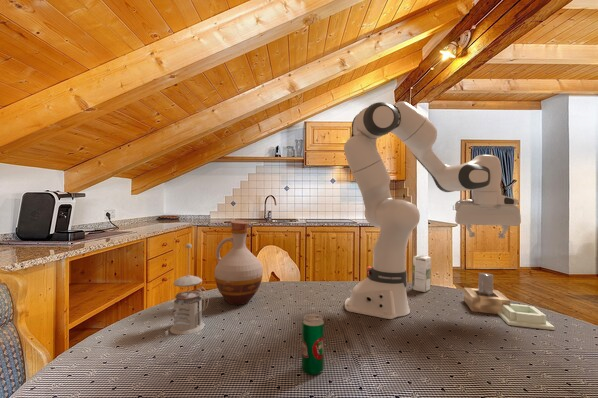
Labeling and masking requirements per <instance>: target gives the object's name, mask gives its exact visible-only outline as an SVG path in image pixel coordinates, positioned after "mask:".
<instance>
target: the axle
mask: <svg viewBox="0 0 598 398" xmlns="http://www.w3.org/2000/svg"><path fill="white" fill-rule="evenodd" d="M477 289H478V296H489V297H493V290H494V274H492V273H487V272H486V273H485V272H478V288H477Z"/></svg>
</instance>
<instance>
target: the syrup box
mask: <svg viewBox="0 0 598 398" xmlns="http://www.w3.org/2000/svg"><path fill="white" fill-rule="evenodd" d="M431 276H432V257H431V256H427V255H424V254H417V255H415V256H413V257H412V279H411V280H412V282H411V283H412V285H411V289H412V290H414V291H418V292H423V293H426V292H429V291H431V282H432V281H431V279H432V277H431Z"/></svg>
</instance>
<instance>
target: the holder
mask: <svg viewBox="0 0 598 398" xmlns="http://www.w3.org/2000/svg"><path fill="white" fill-rule="evenodd" d="M509 306H510V307H509ZM509 306H508V305H506V304H502V311H498V314H497V315H498V316H499V317H500V318H501V319H502V320H503V321H504V322H505V323H506V324H507V325H508V326H517V327H524V328H532V329H533V328H534V329H539V330H540V329H541V330H549V331H550V330H551V331H555V326H554V325H553V324H551V323H550V322H549V321H548V320H547V315H546V314H545V313H544V312H543V311H540V310H539V309H538V308H536V307H535V306H533V305H528V304H527V305H526V304H517V303H516V304H515V303H510V305H509Z"/></svg>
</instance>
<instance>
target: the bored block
mask: <svg viewBox="0 0 598 398" xmlns="http://www.w3.org/2000/svg"><path fill="white" fill-rule="evenodd" d="M463 301H464V303H465V304H466V305H467V307H469V309H470V310H471V312H476V313H485V314H486V313H487V314H495V315H498V311H502V304H506V305H508V306H509V305H510V304H511V300H510V298H508V297H507V296H506V295H504V293H502V292H501V291H499V290H497V289H493V297H489V296H478V288H472V287H463ZM509 307H510V306H509Z"/></svg>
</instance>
